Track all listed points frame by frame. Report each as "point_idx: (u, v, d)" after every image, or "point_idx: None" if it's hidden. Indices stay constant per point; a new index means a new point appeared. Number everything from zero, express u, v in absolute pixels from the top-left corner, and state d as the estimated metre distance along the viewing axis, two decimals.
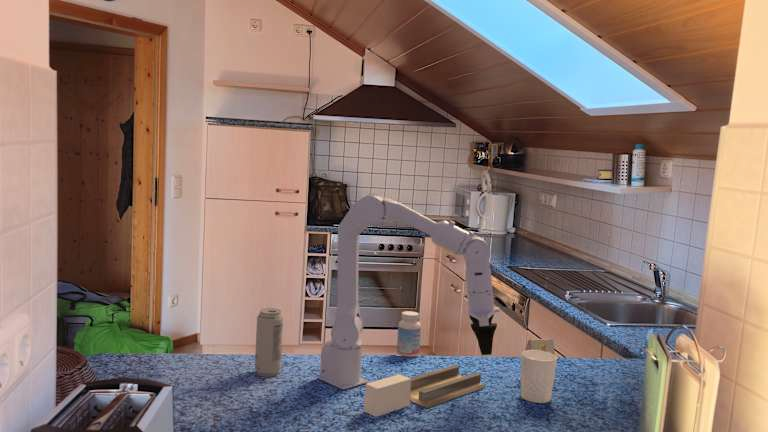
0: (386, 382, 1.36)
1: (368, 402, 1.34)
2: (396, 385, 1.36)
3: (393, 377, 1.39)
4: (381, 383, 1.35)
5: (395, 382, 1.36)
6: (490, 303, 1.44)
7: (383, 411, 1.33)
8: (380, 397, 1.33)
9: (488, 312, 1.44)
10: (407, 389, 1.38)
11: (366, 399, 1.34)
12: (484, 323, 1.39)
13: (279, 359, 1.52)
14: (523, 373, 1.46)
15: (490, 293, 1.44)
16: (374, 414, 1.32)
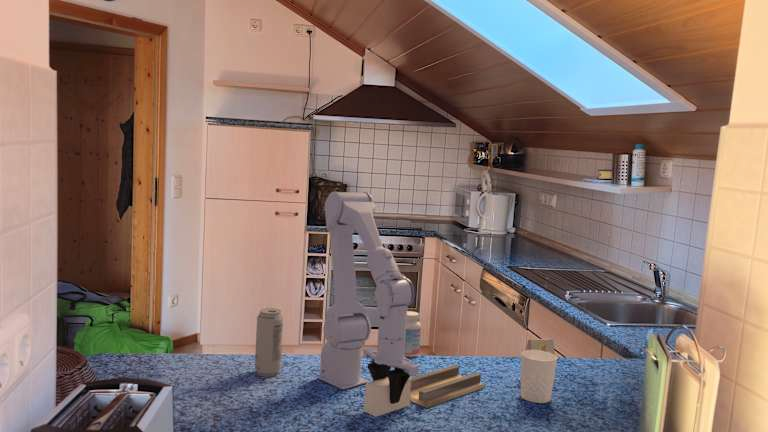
0: (386, 381, 1.36)
1: (368, 401, 1.34)
2: None
3: None
4: (381, 383, 1.35)
5: None
6: (377, 347, 1.36)
7: (383, 411, 1.33)
8: (381, 396, 1.32)
9: (376, 355, 1.37)
10: (407, 388, 1.38)
11: (366, 398, 1.34)
12: None
13: (279, 359, 1.52)
14: (523, 373, 1.46)
15: (378, 338, 1.35)
16: (374, 413, 1.32)
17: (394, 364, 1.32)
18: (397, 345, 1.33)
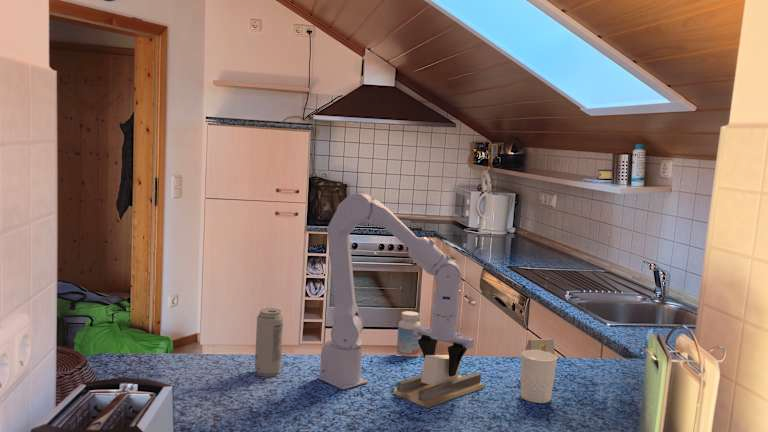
0: (442, 357, 1.48)
1: (426, 372, 1.45)
2: None
3: (445, 355, 1.51)
4: (438, 356, 1.47)
5: None
6: (431, 325, 1.47)
7: (439, 382, 1.45)
8: (439, 367, 1.44)
9: (430, 332, 1.48)
10: None
11: (424, 369, 1.45)
12: None
13: (279, 359, 1.52)
14: (523, 373, 1.46)
15: (433, 316, 1.46)
16: (432, 383, 1.43)
17: (451, 339, 1.44)
18: (452, 321, 1.45)
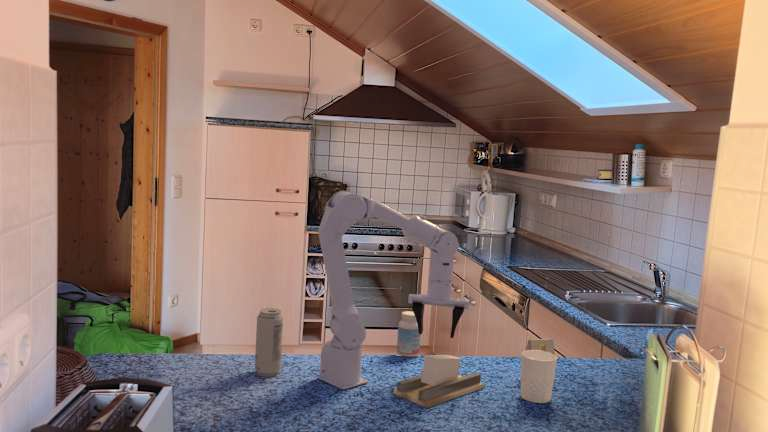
0: (442, 357, 1.48)
1: (426, 372, 1.45)
2: (451, 361, 1.48)
3: (445, 355, 1.51)
4: (438, 356, 1.47)
5: (449, 358, 1.48)
6: (430, 291, 1.54)
7: (439, 382, 1.45)
8: (439, 367, 1.44)
9: (427, 298, 1.55)
10: (457, 367, 1.51)
11: (424, 369, 1.45)
12: None
13: (279, 359, 1.52)
14: (523, 373, 1.46)
15: (431, 282, 1.54)
16: (432, 383, 1.43)
17: (451, 302, 1.53)
18: (450, 285, 1.54)
